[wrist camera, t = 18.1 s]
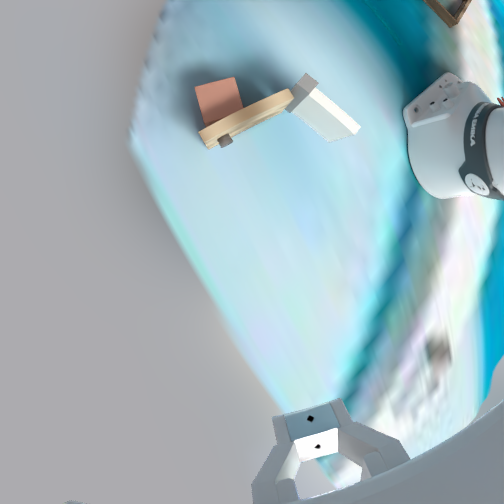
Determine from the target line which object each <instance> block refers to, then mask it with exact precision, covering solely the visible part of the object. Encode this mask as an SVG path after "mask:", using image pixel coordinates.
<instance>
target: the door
mask: <svg viewBox="0 0 504 504" xmlns="http://www.w3.org/2000/svg"><path fill="white" fill-rule="evenodd" d="M293 99H294V97H293V95H292V94H291V92H290V90H289V89H288V88H287V89H285V90H283V91H280V92H278V93H276V94H273V95H271V96H269V97H267V98H264V99H262V100H260V101H258V102H256V103H254V104H251V105H249V106H247V107H245V108H243V109H241V110H239V111H237V112H235V113H233V114H231V115H229V116H227V117H225V118H223V119H221V120H219V121H217V122H216V123H214V124H212V125H210V126H208V127H206V128H204V129H203V130H201V131H199V132H198V133H199V134H200V136H201V138H202V140H203V141H204V143H205V145H206V146H207V148H208V150H209V149H211V148H213V147H214V146H216V145H218V144H220V146H221V148H223V147H225V146H227V145H229V144H230V143H232V142H233V140H232V138H231V137H233V136H235V135H237V134H239V133H241V132H243V131H245V130H247V129H249V128H251V127H253V126H255V125H257V124H259V123H261V122H263V121H265V120H267V119H269V118H271V117H273V116H275V115H278V114H280V113H282V111H283V110H284V109H285V108H286V107H287V106H288V104H289V103H290V102H291V101H292V100H293Z"/></svg>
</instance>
